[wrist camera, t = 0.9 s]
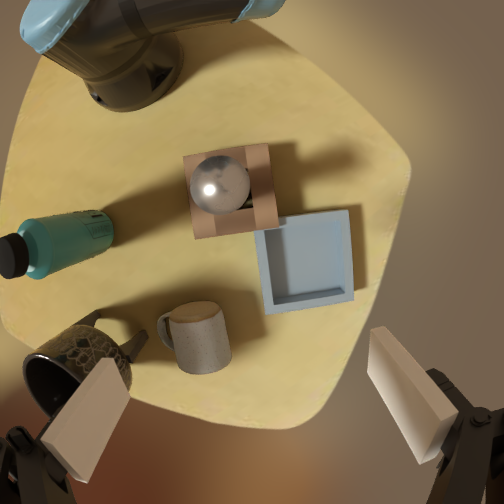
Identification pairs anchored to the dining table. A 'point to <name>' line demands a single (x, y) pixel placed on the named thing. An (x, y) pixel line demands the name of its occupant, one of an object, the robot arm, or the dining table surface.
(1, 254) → the beverage bottle
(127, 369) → the planter
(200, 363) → the ceramic mug
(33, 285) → the dining table surface
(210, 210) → the pin
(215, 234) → the block
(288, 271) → the tray
